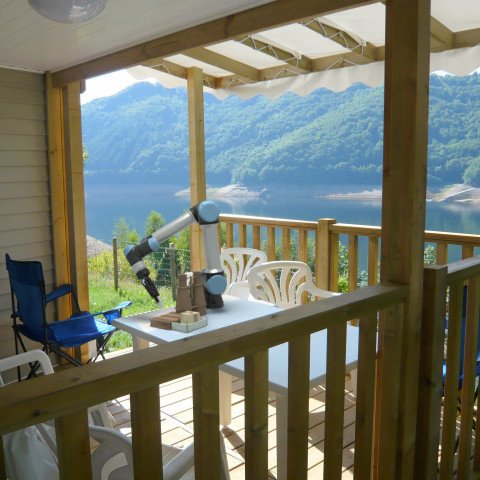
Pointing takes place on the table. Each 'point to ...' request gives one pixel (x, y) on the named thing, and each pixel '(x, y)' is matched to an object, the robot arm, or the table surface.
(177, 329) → the tray
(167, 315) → the board
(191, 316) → the block
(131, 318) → the table surface
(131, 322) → the table surface
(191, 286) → the binoculars
